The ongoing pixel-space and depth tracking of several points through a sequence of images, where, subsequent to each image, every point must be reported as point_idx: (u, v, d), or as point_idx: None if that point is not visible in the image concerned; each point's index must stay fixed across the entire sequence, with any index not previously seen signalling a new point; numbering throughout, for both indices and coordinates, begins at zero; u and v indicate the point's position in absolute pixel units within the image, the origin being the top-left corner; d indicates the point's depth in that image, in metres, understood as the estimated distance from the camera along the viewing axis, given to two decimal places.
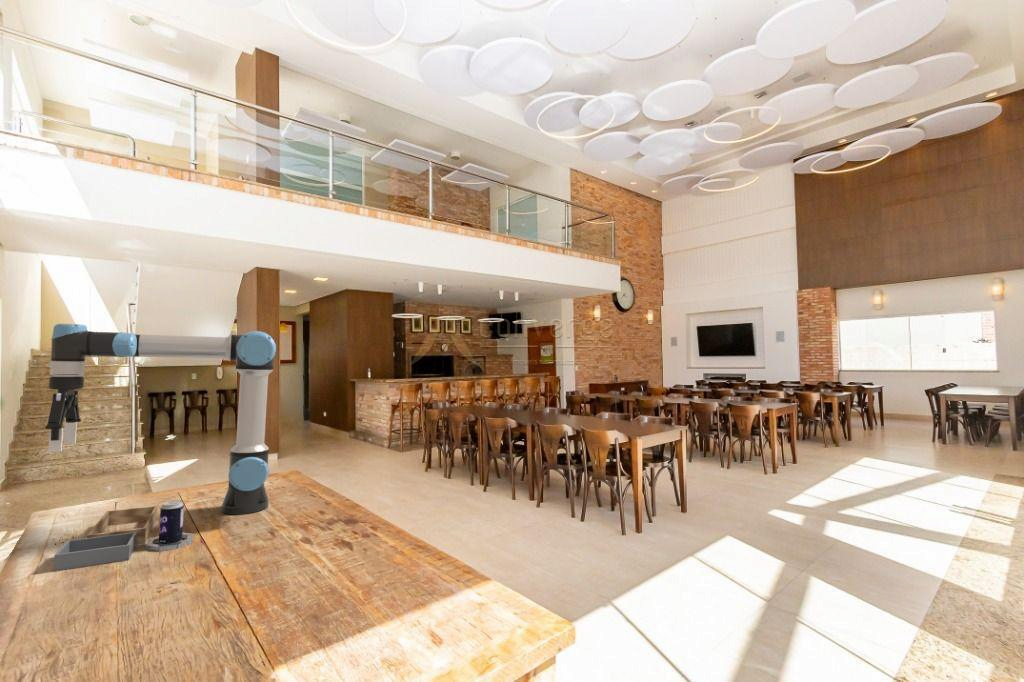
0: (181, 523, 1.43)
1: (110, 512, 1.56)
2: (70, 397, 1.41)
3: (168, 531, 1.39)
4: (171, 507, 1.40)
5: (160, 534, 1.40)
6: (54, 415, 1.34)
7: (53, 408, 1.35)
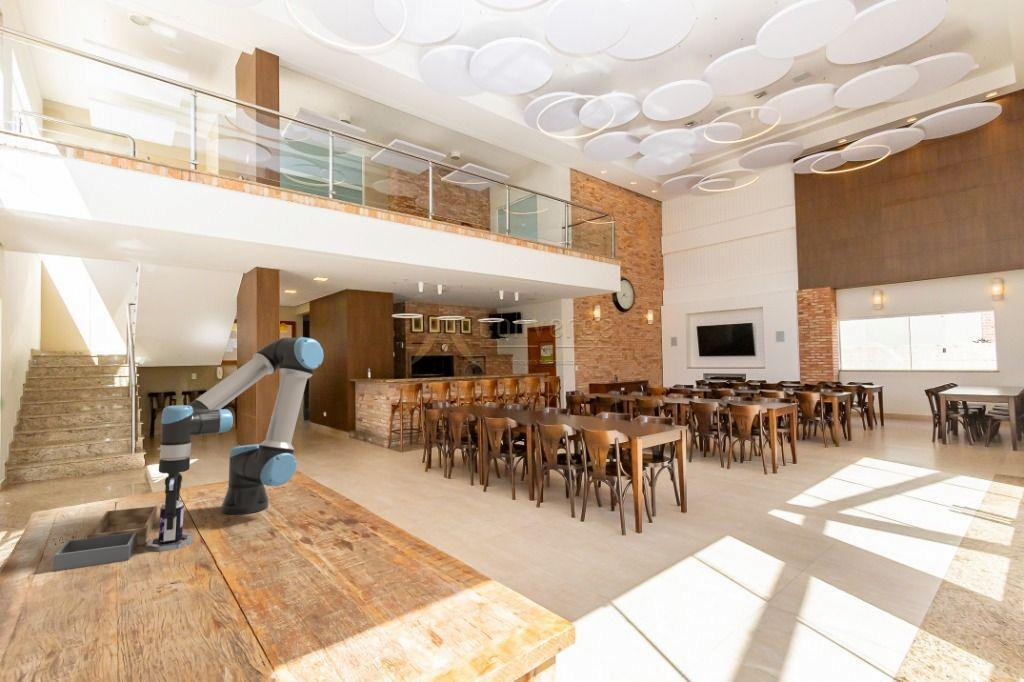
0: (181, 523, 1.43)
1: (110, 512, 1.56)
2: (179, 481, 1.42)
3: None
4: None
5: (160, 534, 1.40)
6: (169, 506, 1.37)
7: (167, 499, 1.37)
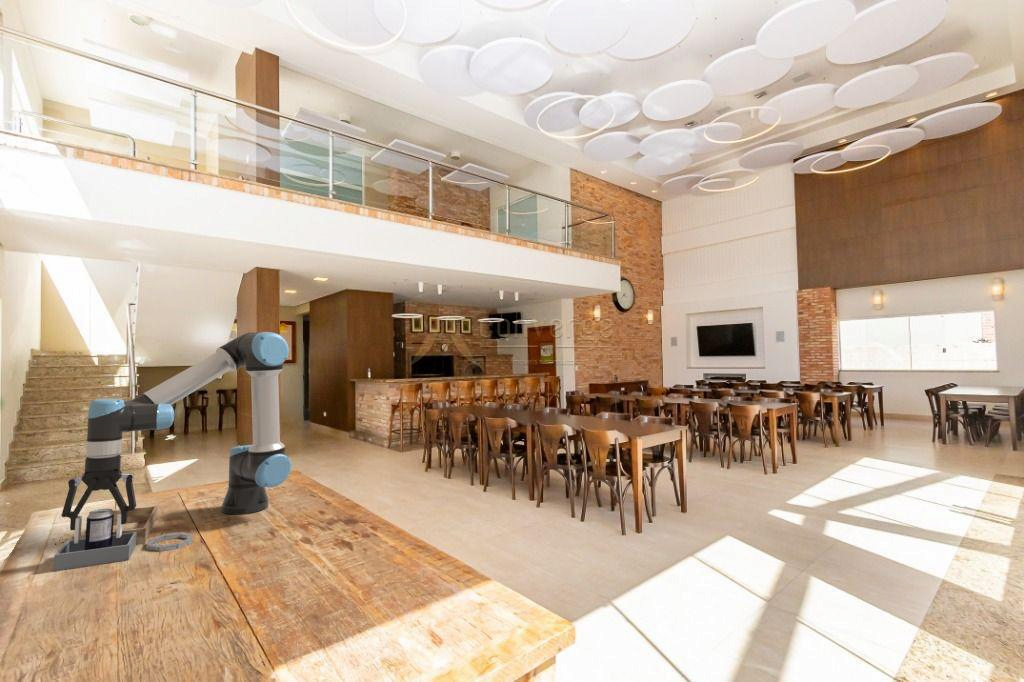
0: (91, 537, 1.28)
1: None
2: (91, 481, 1.30)
3: None
4: (88, 515, 1.30)
5: None
6: None
7: None
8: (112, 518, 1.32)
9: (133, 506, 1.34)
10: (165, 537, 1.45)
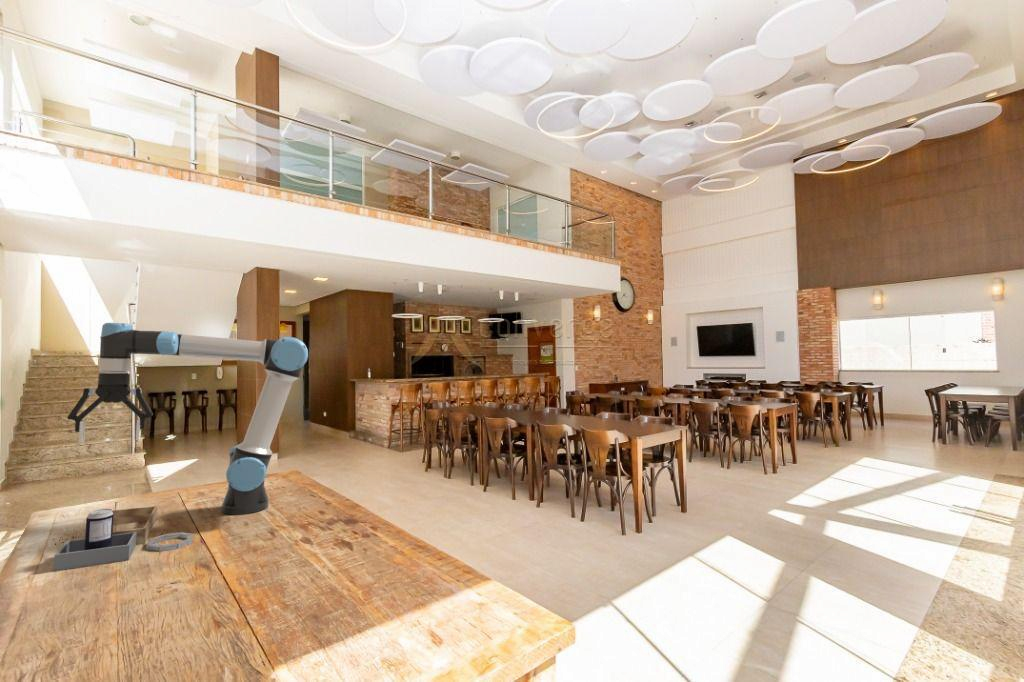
0: (91, 538, 1.28)
1: None
2: (103, 393, 1.46)
3: None
4: (88, 515, 1.30)
5: None
6: None
7: None
8: (112, 518, 1.32)
9: (150, 413, 1.52)
10: (165, 537, 1.45)
